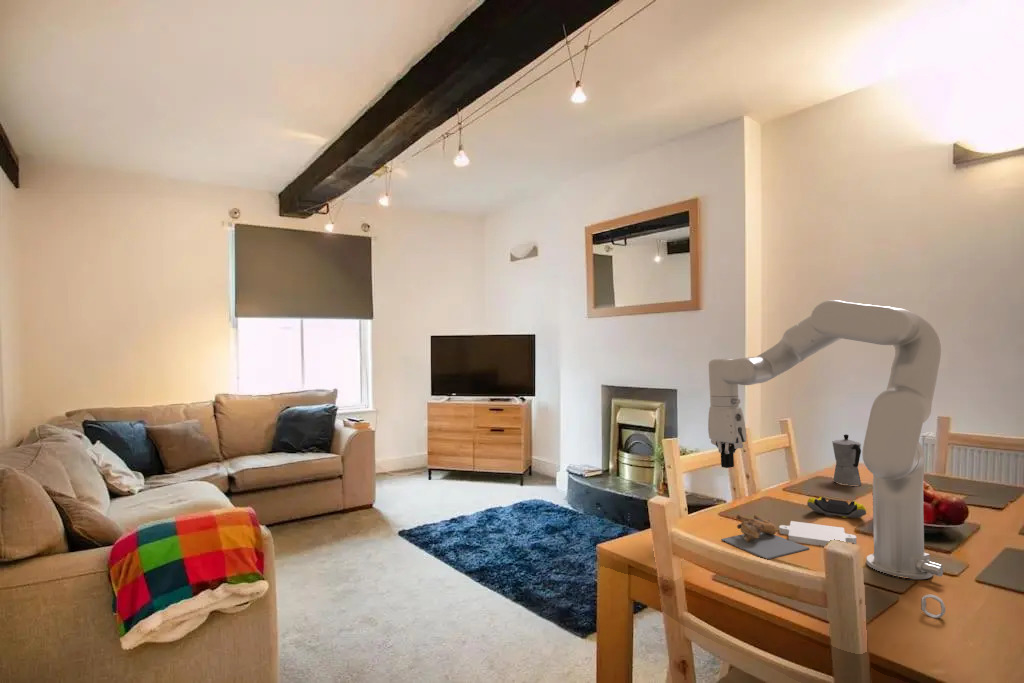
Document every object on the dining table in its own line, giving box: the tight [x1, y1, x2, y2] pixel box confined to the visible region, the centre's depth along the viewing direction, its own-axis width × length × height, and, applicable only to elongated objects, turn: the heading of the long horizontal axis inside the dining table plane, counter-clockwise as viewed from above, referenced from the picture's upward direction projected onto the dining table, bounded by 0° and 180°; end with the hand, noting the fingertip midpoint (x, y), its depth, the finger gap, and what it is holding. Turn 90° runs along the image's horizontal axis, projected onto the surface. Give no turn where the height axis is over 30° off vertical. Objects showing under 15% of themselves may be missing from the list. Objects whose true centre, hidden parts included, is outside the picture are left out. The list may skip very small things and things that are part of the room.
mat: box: [720, 532, 810, 560], centre depth 141 cm, size 14×15×1 cm
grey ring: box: [920, 593, 946, 619], centre depth 103 cm, size 4×2×4 cm, turn 47°
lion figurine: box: [736, 514, 778, 542], centre depth 146 cm, size 15×5×9 cm
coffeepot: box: [831, 433, 862, 486], centre depth 198 cm, size 15×9×18 cm, turn 175°
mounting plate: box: [778, 520, 857, 547], centre depth 146 cm, size 18×13×2 cm
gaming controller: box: [806, 496, 867, 519], centre depth 163 cm, size 15×6×10 cm
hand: (727, 466), depth 154 cm, fingers closed
